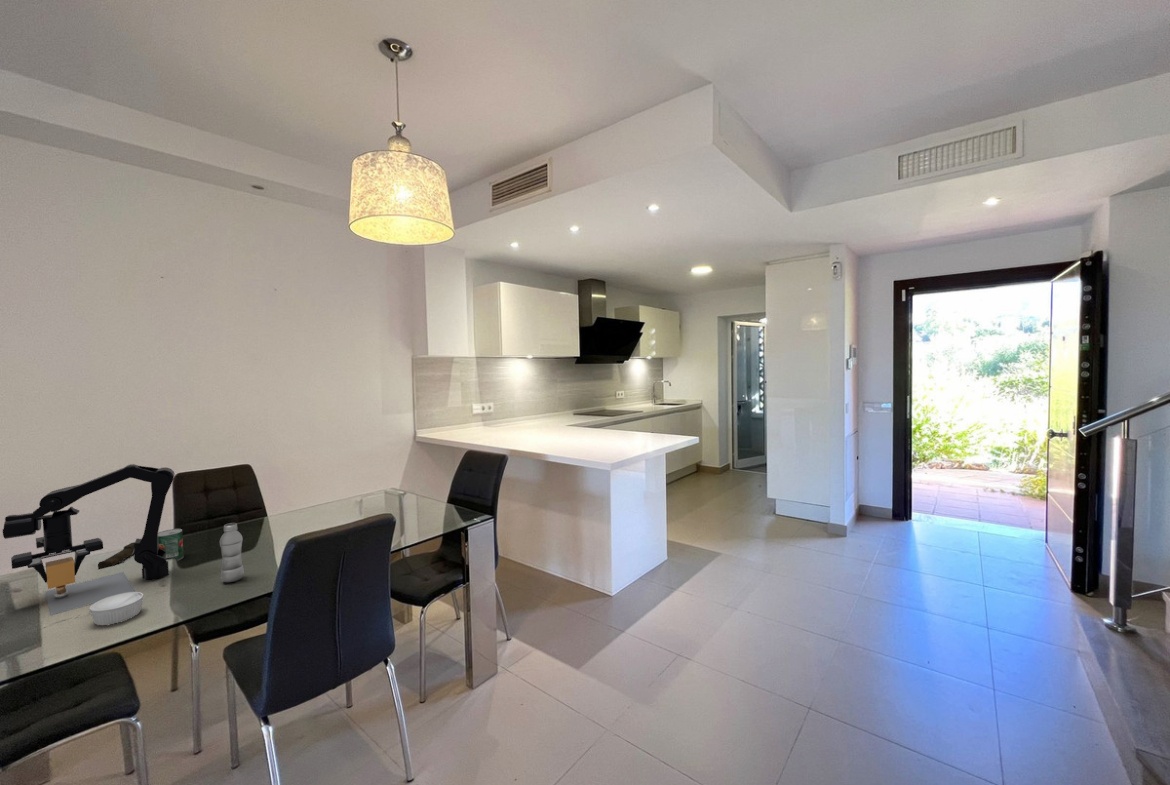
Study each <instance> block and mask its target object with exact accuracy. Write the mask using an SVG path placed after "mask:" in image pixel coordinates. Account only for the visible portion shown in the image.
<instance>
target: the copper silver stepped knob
mask: <svg viewBox="0 0 1170 785" xmlns="http://www.w3.org/2000/svg"><path fill="white" fill-rule="evenodd" d="M66 586H67V584H66V585H63V586H59V587H55V589H56V593H55V599H62V598H65V597H67V596H68V590H66Z"/></svg>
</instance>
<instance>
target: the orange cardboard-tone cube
mask: <svg viewBox="0 0 1170 785" xmlns="http://www.w3.org/2000/svg"><path fill="white" fill-rule="evenodd" d="M74 561H75V559H74V558H73V556H69V557H64V558H60V559H54V560H49V561H46V562H44V563H45V572H46V575H47V583H46V585H47V586H46V587H47V590H52V589H56V587H59V586H63V585H66V586H67V585H71V584H75V583H76V575H75V570H74Z"/></svg>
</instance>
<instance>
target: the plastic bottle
mask: <svg viewBox="0 0 1170 785" xmlns="http://www.w3.org/2000/svg"><path fill="white" fill-rule="evenodd" d="M223 532H224V533H223V534H222V535H221V537H220V539H219V547H220V551H221V556H222V557H221V559H222V560H221V561H222V562H221V563H222V564H221V572H220V580H221V581H222V582H223V583H233V582H237V581H239V580H241V579H243V577H244V575H245V569H244V566H243V560H242V546H243V535H242V533H240V532H239V530H238V524H237V522H230V523H226V524H224V525H223Z"/></svg>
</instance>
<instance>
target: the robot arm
mask: <svg viewBox="0 0 1170 785" xmlns="http://www.w3.org/2000/svg"><path fill="white" fill-rule="evenodd" d="M174 478H175V471H174V470H173V469H172V468H170V467H160V468H156V467H154V466H153V467H152V466H143V465H137V464H133V463H131V464H128V465H126V466H124V467H122V468H119V469H116V470H113V471H111V472H109V473H106V474H104V475H100V476H98V477H97V478H94V479H90V480H88V481H86V482H82V483H80V484H75V485H72V486H67V487H63V488H58V489H56V490H52V491H50V492H48V493H46V495H44V496H43V497H42V498H40V501H39V507H38V508H36V509H34V511H33V512H31V513H30V512H29V513H23V514H11V515H7V516H5V517H4V524H3V529H2V537H3V538H4V540H7V539H13V538H20V537H27V536H34V535H35V534H36V533H37V532H39V531H41V529H42V530H43V536H41V537H36V538H35V546H36V549H41V548H43V552H40V553H34V554H32V551H28V552H24V553H18V554H14V555H13V556H11V557H10V560H11V562H10V563H11V569H12V570H13V569H18V568H24V567H27V569H30V568H33V569H34V570H35V571H36V572H38V574H39V575H40V577H41V578H42V580H43V581H44V583H46V584H47V575H46V568H45V566H44V563H43V562H44V561H43V559H47V558H53V557H56V556H62V555H66V554H70V553H74V570H75V576H77V574H78V571H79V569H80V566H81V564H82V563H83V561H84V559H85V558H86V557H87V556H89V555H91V552H96V551H97V552H98V551H100V550H103V549H104V542H103V540H102V538H100V537H95V538H90V539H87V540H83V543H82V544H81V543H80V544H76V545H73V535H72V534H73V533H72V520H71V516H76V515H78V514H79V513H80V510H79V509H76V508H74V506H70V505H72V504H73V503H75V502H76V501H79V500H80V499H82V498H84V497H85V496H87V495H90V494H92V493H95V492H98V491H100V490H103V489H105V488H108V487H110V486H113V485H115V484H117V483H120V482H123V481H125V480H128V479H135V480H138V481H143V482H148V483H150V489H151V499H150V504H149V507H148V512H147V516H146V522H145V527H144V530H143V531H144V532H143V535H142V537H141V538H135V541H134V542H135V544H134V551H133V553H132V556H131V557H133V559H134V561H135V562H136V563H138V564H140V565H142V566H141V567H142V569H141V578H142V579H143V580H144V581H155V580H161V579H163V578H165V577H168V576H169V573H170V572H169V561H167V560H166V556H167V552H166V551H164V550H162V549H160V548H159V539H158V533H159V529H160V525H161V521H162V516H163V511H164V507H165V502H166V496H167V494H168V492H169V490H170V488H171V485H172V483H173V481H174ZM68 506H70V507H69V508H68V509H65V508H67V507H68ZM62 509H63V510H62ZM49 513H51V514H49Z"/></svg>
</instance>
